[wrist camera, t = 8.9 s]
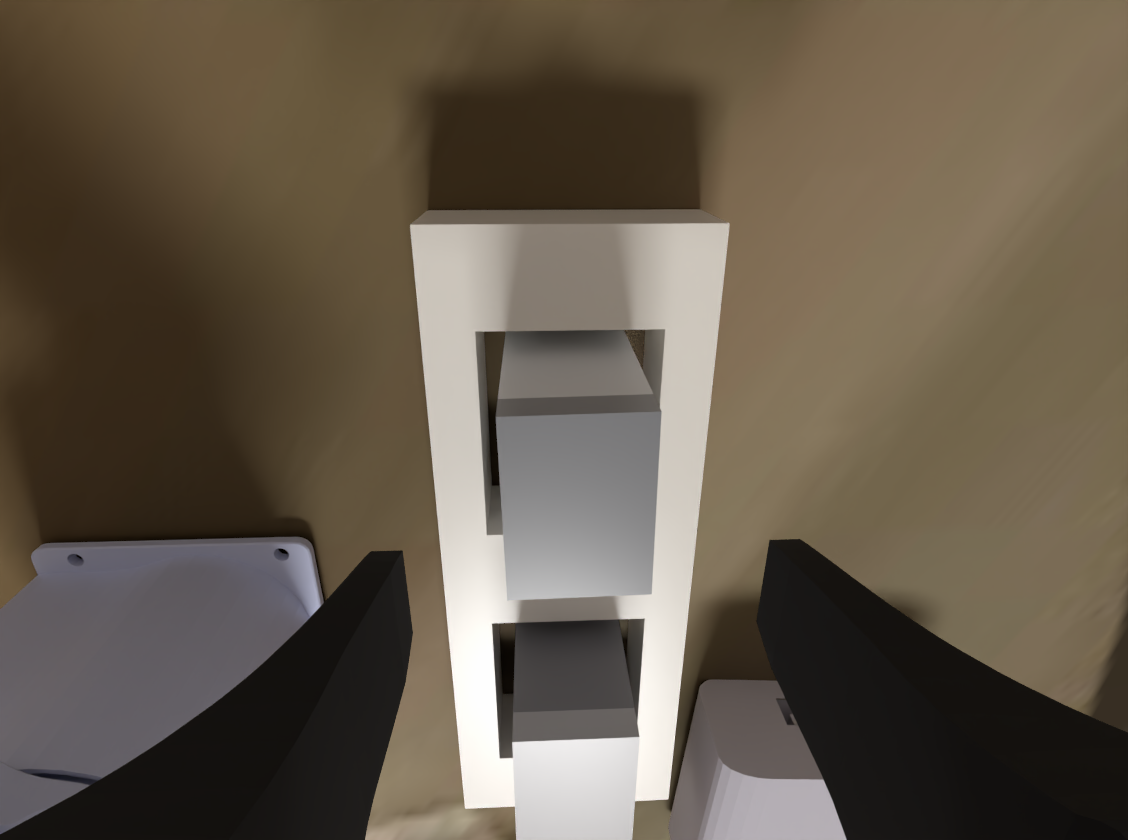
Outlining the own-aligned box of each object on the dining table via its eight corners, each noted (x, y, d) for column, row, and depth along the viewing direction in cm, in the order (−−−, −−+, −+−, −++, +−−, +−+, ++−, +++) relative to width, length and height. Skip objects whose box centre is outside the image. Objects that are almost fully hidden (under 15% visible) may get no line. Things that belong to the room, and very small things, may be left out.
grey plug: (513, 464, 22) (507, 600, 16) (506, 325, 20) (495, 417, 14) (616, 461, 22) (651, 594, 16) (620, 322, 20) (661, 411, 14)
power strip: (471, 741, 28) (463, 829, 24) (427, 210, 19) (404, 229, 15) (654, 733, 28) (672, 819, 25) (700, 209, 19) (739, 227, 15)
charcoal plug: (520, 678, 26) (517, 853, 20) (516, 581, 24) (511, 742, 18) (607, 675, 27) (631, 848, 20) (611, 578, 24) (639, 737, 18)
